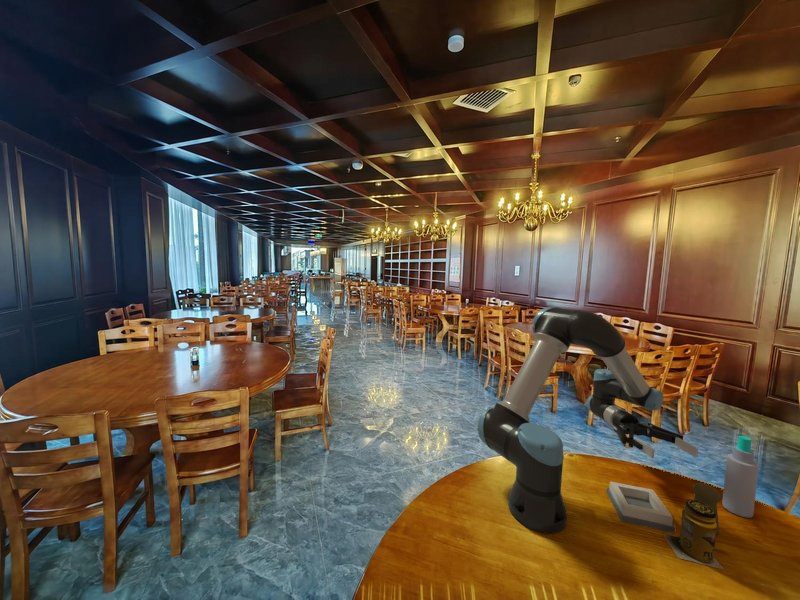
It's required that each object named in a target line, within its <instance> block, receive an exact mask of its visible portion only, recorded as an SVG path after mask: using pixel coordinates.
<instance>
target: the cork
mask: <svg viewBox="0 0 800 600" xmlns="http://www.w3.org/2000/svg"><path fill="white" fill-rule="evenodd" d="M692 491H693V494H694V497H693V500H697V501H700V502H702V503H705V504H707V505H708V506H710V507H711V508H712V509H713V510H714V511H715V513H716V517H715V519H716V521H715V522H716V524H717V532H716V535H718V534H719V533H720V525H719V515H718V514H719V513H718V505H717V503H719V502H720V500H721V494H720V492H719V491H718V489H717V488H715V487H713V486H711V485H709V484H708V483H703V482H697V483H694V485H693V487H692Z"/></svg>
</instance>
